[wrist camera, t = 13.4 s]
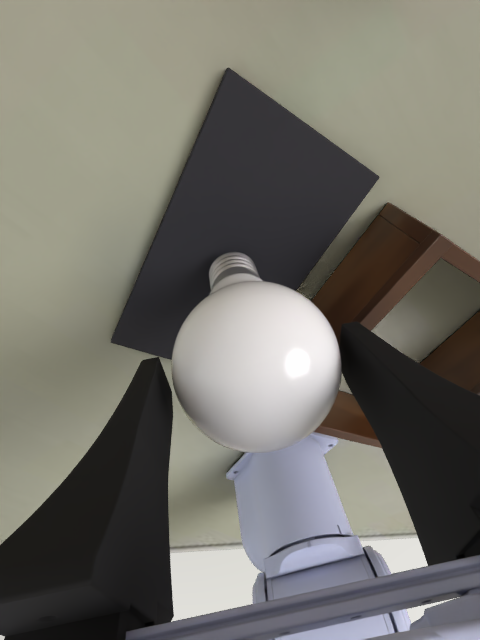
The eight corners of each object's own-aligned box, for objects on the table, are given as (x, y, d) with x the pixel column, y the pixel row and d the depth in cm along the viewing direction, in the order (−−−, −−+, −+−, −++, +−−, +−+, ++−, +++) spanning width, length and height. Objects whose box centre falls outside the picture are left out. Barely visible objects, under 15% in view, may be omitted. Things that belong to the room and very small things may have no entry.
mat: (231, 372, 25) (232, 377, 24) (111, 337, 21) (110, 342, 21) (375, 174, 17) (380, 177, 17) (226, 67, 13) (228, 67, 13)
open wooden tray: (376, 409, 30) (404, 456, 27) (253, 372, 25) (266, 425, 21) (514, 288, 23) (578, 329, 20) (386, 200, 18) (441, 234, 14)
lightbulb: (257, 190, 16) (344, 323, 7) (299, 284, 20) (390, 444, 11) (152, 250, 17) (120, 426, 9) (210, 328, 21) (230, 505, 12)
